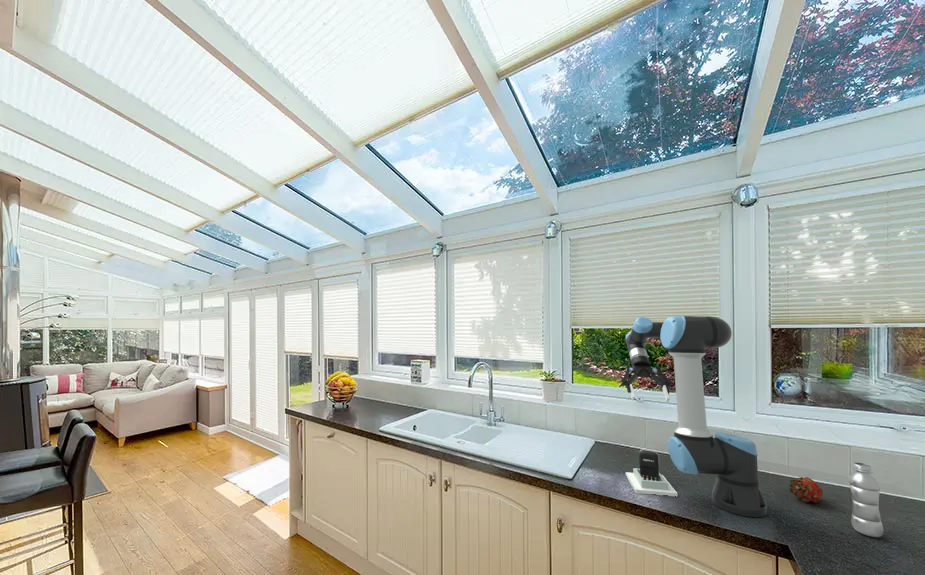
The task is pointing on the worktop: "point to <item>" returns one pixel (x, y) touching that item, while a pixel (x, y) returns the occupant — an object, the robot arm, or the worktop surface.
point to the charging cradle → (650, 484)
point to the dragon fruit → (806, 490)
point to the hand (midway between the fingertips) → (650, 399)
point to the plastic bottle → (865, 501)
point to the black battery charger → (649, 465)
